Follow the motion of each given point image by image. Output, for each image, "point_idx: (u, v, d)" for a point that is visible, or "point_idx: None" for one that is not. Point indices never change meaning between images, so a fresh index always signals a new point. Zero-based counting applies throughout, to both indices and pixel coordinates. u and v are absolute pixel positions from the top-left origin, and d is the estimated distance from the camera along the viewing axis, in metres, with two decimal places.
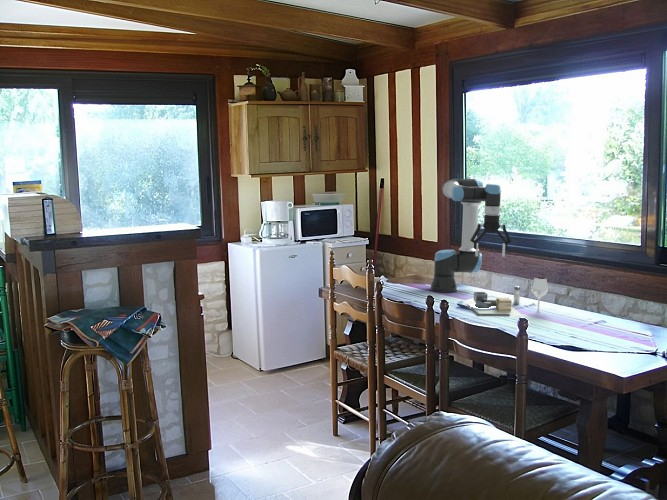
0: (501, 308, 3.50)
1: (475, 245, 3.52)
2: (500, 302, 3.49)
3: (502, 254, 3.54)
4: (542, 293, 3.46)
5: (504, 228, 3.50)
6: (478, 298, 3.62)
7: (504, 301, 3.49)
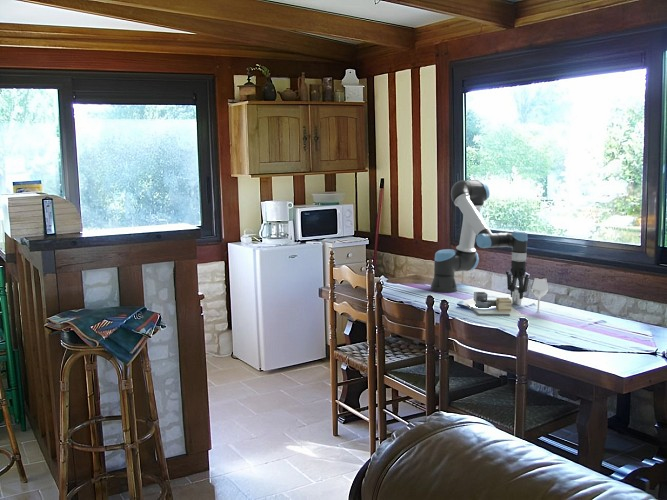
0: (501, 308, 3.50)
1: (511, 293, 3.69)
2: (500, 302, 3.49)
3: None
4: (542, 293, 3.46)
5: (525, 277, 3.62)
6: (478, 298, 3.62)
7: (504, 301, 3.49)
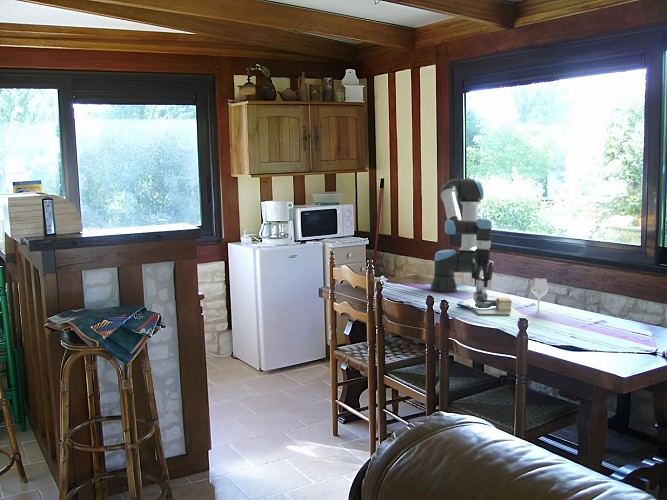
0: (501, 308, 3.50)
1: (476, 281, 3.65)
2: (500, 302, 3.49)
3: None
4: (542, 293, 3.46)
5: (489, 265, 3.58)
6: (478, 298, 3.62)
7: (504, 301, 3.49)
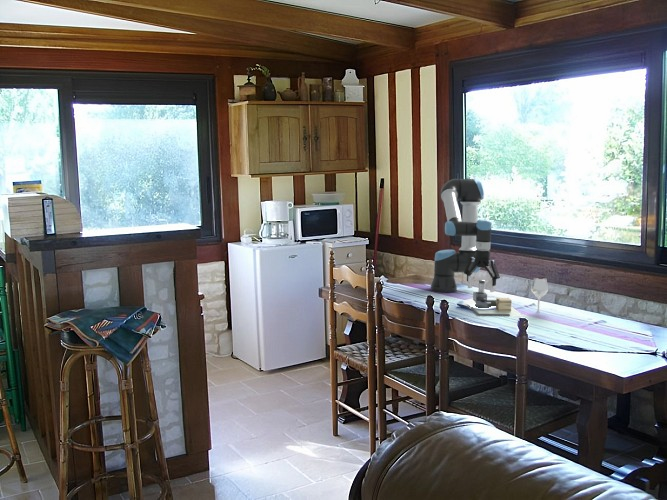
0: (501, 308, 3.50)
1: (468, 277, 3.68)
2: (500, 302, 3.49)
3: None
4: (542, 293, 3.46)
5: (491, 264, 3.57)
6: (478, 298, 3.62)
7: (504, 301, 3.49)
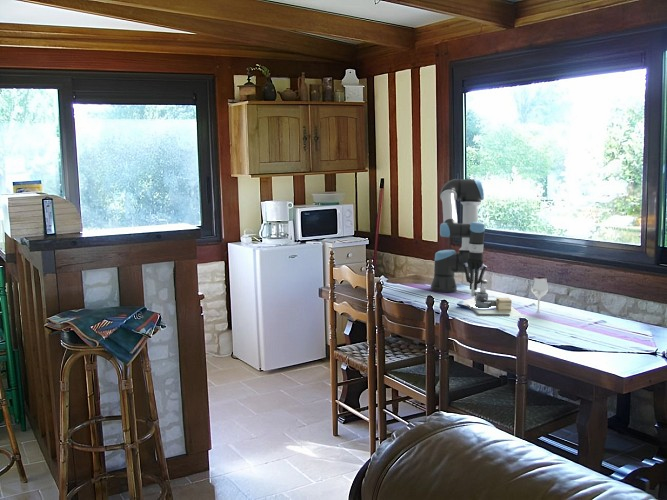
0: (501, 308, 3.50)
1: (471, 285, 3.66)
2: (500, 302, 3.49)
3: None
4: (542, 293, 3.46)
5: (483, 269, 3.61)
6: (478, 298, 3.62)
7: (504, 301, 3.49)
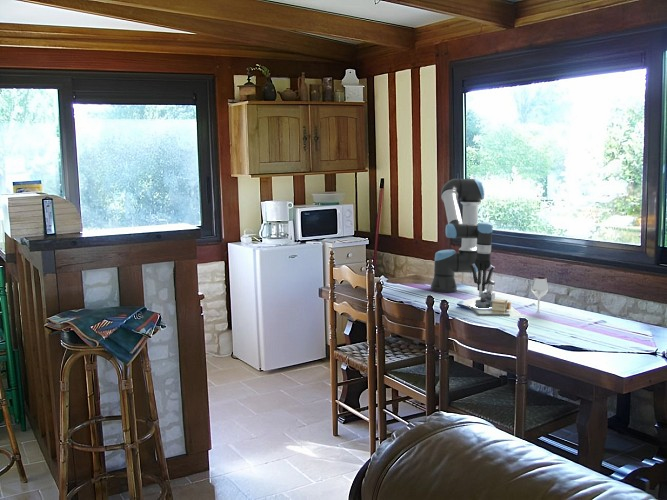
0: (494, 309, 3.48)
1: (478, 286, 3.64)
2: (493, 303, 3.48)
3: (480, 294, 3.65)
4: (542, 293, 3.46)
5: (491, 270, 3.59)
6: (482, 298, 3.62)
7: (497, 302, 3.47)
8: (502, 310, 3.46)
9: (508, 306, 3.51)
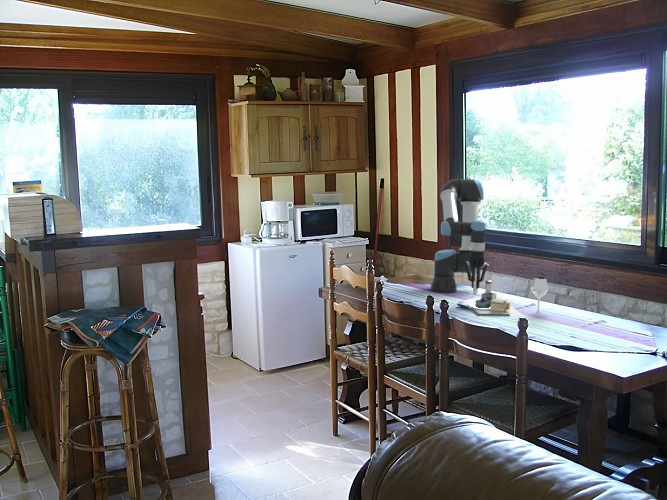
0: (493, 309, 3.47)
1: (472, 284, 3.66)
2: (491, 303, 3.47)
3: None
4: (542, 293, 3.46)
5: (485, 267, 3.61)
6: (483, 298, 3.62)
7: (495, 302, 3.46)
8: (500, 310, 3.45)
9: (507, 306, 3.50)
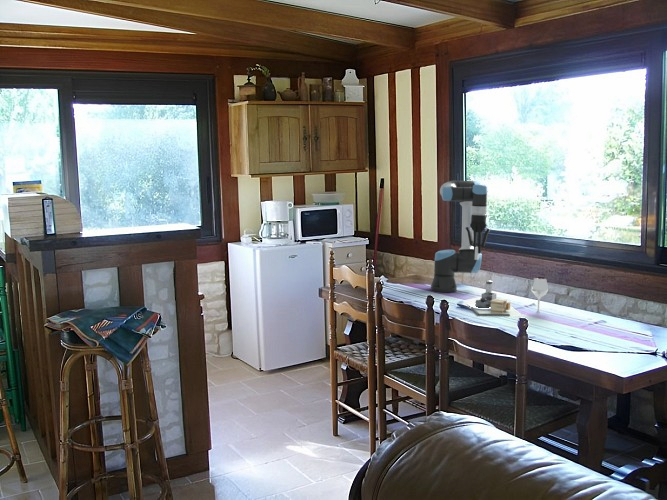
0: (493, 309, 3.47)
1: (474, 249, 3.63)
2: (491, 303, 3.47)
3: None
4: (542, 293, 3.46)
5: (486, 231, 3.58)
6: (483, 298, 3.62)
7: (495, 302, 3.46)
8: (500, 310, 3.45)
9: (507, 306, 3.50)
